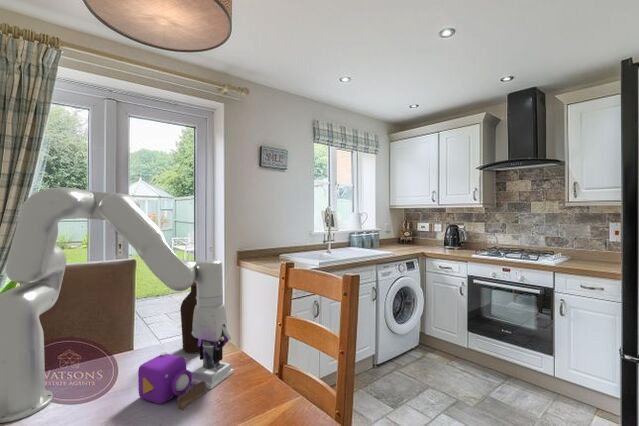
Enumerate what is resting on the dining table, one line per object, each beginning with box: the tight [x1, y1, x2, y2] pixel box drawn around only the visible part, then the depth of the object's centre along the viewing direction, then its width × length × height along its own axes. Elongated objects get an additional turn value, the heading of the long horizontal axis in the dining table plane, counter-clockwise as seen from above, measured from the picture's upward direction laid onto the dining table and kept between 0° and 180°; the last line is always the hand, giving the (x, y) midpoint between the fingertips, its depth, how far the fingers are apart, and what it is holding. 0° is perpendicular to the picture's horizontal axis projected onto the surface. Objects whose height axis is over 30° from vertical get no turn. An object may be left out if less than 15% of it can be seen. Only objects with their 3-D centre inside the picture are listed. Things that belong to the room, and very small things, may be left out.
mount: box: [189, 361, 234, 390], centre depth 98 cm, size 9×10×3 cm
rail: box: [177, 381, 207, 411], centre depth 86 cm, size 2×8×3 cm, turn 157°
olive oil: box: [180, 282, 200, 354], centre depth 118 cm, size 11×11×25 cm
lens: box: [202, 340, 221, 369], centre depth 98 cm, size 5×5×8 cm
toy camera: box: [137, 352, 192, 405], centre depth 89 cm, size 11×14×10 cm
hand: (211, 358), depth 98 cm, fingers closed on lens, 4 cm apart
